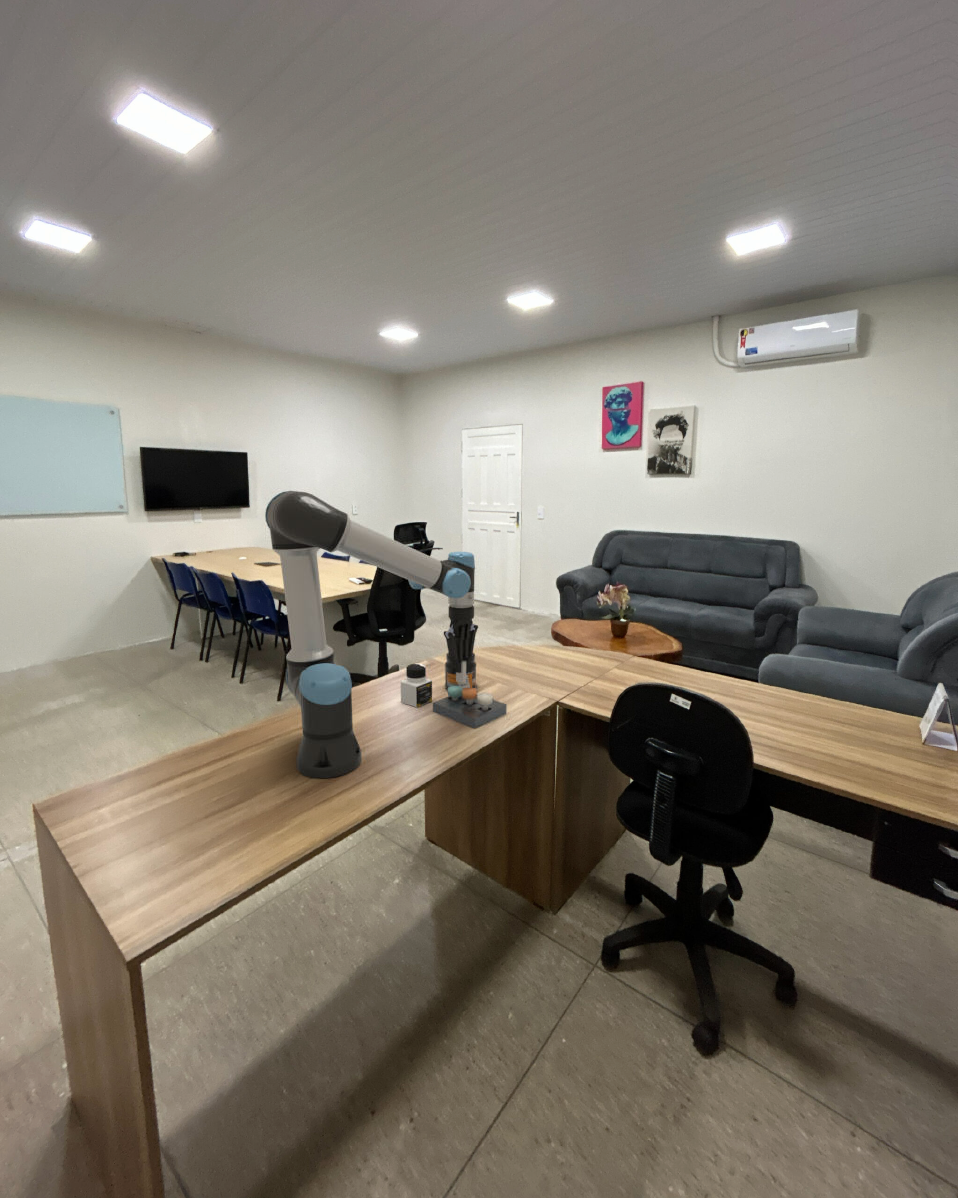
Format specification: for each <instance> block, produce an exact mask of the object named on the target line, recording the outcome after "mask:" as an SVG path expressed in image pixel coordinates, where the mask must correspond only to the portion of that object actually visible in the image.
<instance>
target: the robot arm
mask: <svg viewBox="0 0 958 1198" xmlns="http://www.w3.org/2000/svg"><path fill="white" fill-rule="evenodd" d="M264 514H265V515H264V516H265V523H266V526H267V527H268V529H269V533H270V541H271V548H272V549H271V550H272V551H273V552H274V553H276V554H277V555H279V558H280V559H279V560H280V567H281V575H282V581H283V582H282V583H283V591H284V599H285V604H286V605H285V606H286V615H287V621H288V631H289V638H290V646H291V647H290V648H291V649H290V651H289V652H288V653H287V654H286V657H285V658H286V666H287V669H286V673H285V675H286V676H285V678H286V679H285V680H286V684H287V687H288V689H289V691H290V693H291V694H292V695H293V697H294V698H295V700H296V701H297V704H298V705H299V706H300V711H301V713H300V714H301V726H302V728H301V729H302V738H301V741H300V744H299V747H298V748H299V749H298V752H297V754H296V769H297V771H298V772H299V773H300V774H302V775H303V776H306V777H308V778H312V779H330V778H336V777H340V776H343V775H345V774H348V773H350V772H352V771H354V770H355V769H356V768H358V766H359V765H360V764H361V762H362V750H361V747H360V744H359V742H358V740H357V737H356V734H355V732H354V728H353V727H354V725H353V723H354V721H353V702H352V699H353V698H352V689H353V685H352V684H353V683H352V679H351V674H350V672H349V671H348V669H347V668H346V667H344V666H342V665H339V664H338V665H337V664H335V663H336V662H335V661H336V660H335V653H334V649H333V648H332V647H331V646H329V645H328V644H327V638H326V636H327V635H326V627H325V620H324V619H325V618H324V611H323V610H324V609H323V601H322V599H323V598H322V589H321V583H320V580H321V579H320V572H319V564H318V562H319V561H318V555H317V553H318V551H320V549H321V550H323V551H326V552H329V553H334V552H341V553H343V554H345V555H347V556H350V557H353V558H355V559H357V560H360V561H362V562H365V563H367V564H370V565H372V566H374V567H377V568H380V569H381V570H384V571H386V572H389V573H391V574H394V575H396V576H398V577H400V578H404V579H405V580H408V583H409V585H410V587H411V588H412V589H414V590H424V589H428V590H431V591H434V592H436V593H438V594H441V595H444V596H446V597H447V598H448V599H447V600H448V601H447V602H448V604H449V606H448V618H449V620H450V623H449V628H448V630H447V631H446V630H445V631H443V636H444V638H445V641H446V647H447V650H448V651H447V653H448V652H449V658H450V660H451V661H454V662H455V672H456V682H460V683H465V682H466V670H467V661H470V659H469V657H472V654H473V653H474V647H475V641H476V635H477V631H478V629H479V625H477V624H475V623H473V619H474V618H475V606H474V604H475V576H476V575H475V573H476V572H475V570H476V565H475V564H476V563H475V561H476V560H475V555H474V553H472V552H469V551H453V552H452V551H451V552H449V553H448V557H447V559H444V560H439V559H436V558H434V557H432V556H430V555H427V554H426V553H423V552H422V551H419V550H417V549H414V548H413V547H410V546H408V545H405V544H403V543H401V542H400V541H397V540H395V539H392V538H390V537H388V536H386V535H384V534H382V533H380V532H377V531H375V530H373V529H371V528H368V527H367V526H364V525H362V524H360V523H357V522H355V521H353V520H351V518H350V517H349V514H348V513H346V512H344V511H342V510H339V509H338V508H336V507H334V506H332V505H330V504H328V503H327V502H325V501H324V500H322V499H320V498H319V497H317V496H315V495H314V494H312V493H309V492H306V491H298V490H287V491H283V492H279V493H278V494H276V495H274V496H273V497H272V498H271V499H270V501H269V502H268V503H267V506H266V508H265V512H264ZM468 652H469V653H468Z"/></svg>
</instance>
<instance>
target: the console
mask: <svg viewBox="0 0 958 1198" xmlns="http://www.w3.org/2000/svg"><path fill="white" fill-rule="evenodd" d="M478 694H479V693H477V695H478ZM432 713H435V714H436V715H438V716H441V717H444V718H447V719H450V720H452V721H454V722H457V723H459V724H462V725H465V726H467V727H470V728H472V729H478V728H480V727H482V726H484V725H486V724H488V723H490V722H492V721H495V720H496V719H498V718H501V717H503V716H506V715H507V703H504V702H501V701H498V700H495V699H492V703H491V704H489V705H488V711H487V712H484V711H481V704H479V703H478V702H477V698H475V699H473V705H472V706H467V705H466V699H464V698H463V697H462V696H460V697H458V700H457V701H454V700H452V697H450V696H448V695H447V696H446V697H444V698H441V699H439V700H435V701H433V702H432Z"/></svg>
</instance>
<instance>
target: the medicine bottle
mask: <svg viewBox="0 0 958 1198" xmlns="http://www.w3.org/2000/svg"><path fill="white" fill-rule="evenodd" d="M405 673H406V678H405V679H402V680H400V703H402V704H406V705H407V706H412V707H414V708H419V707H422V706H423V705H426V704H428V703H430V702H432V701H433V680H432V679H431V678H430V679H429V678H427V666H426V665H425V664H422V663H417V662H416V663H411V664H408V665H407V666H406V670H405Z"/></svg>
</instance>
